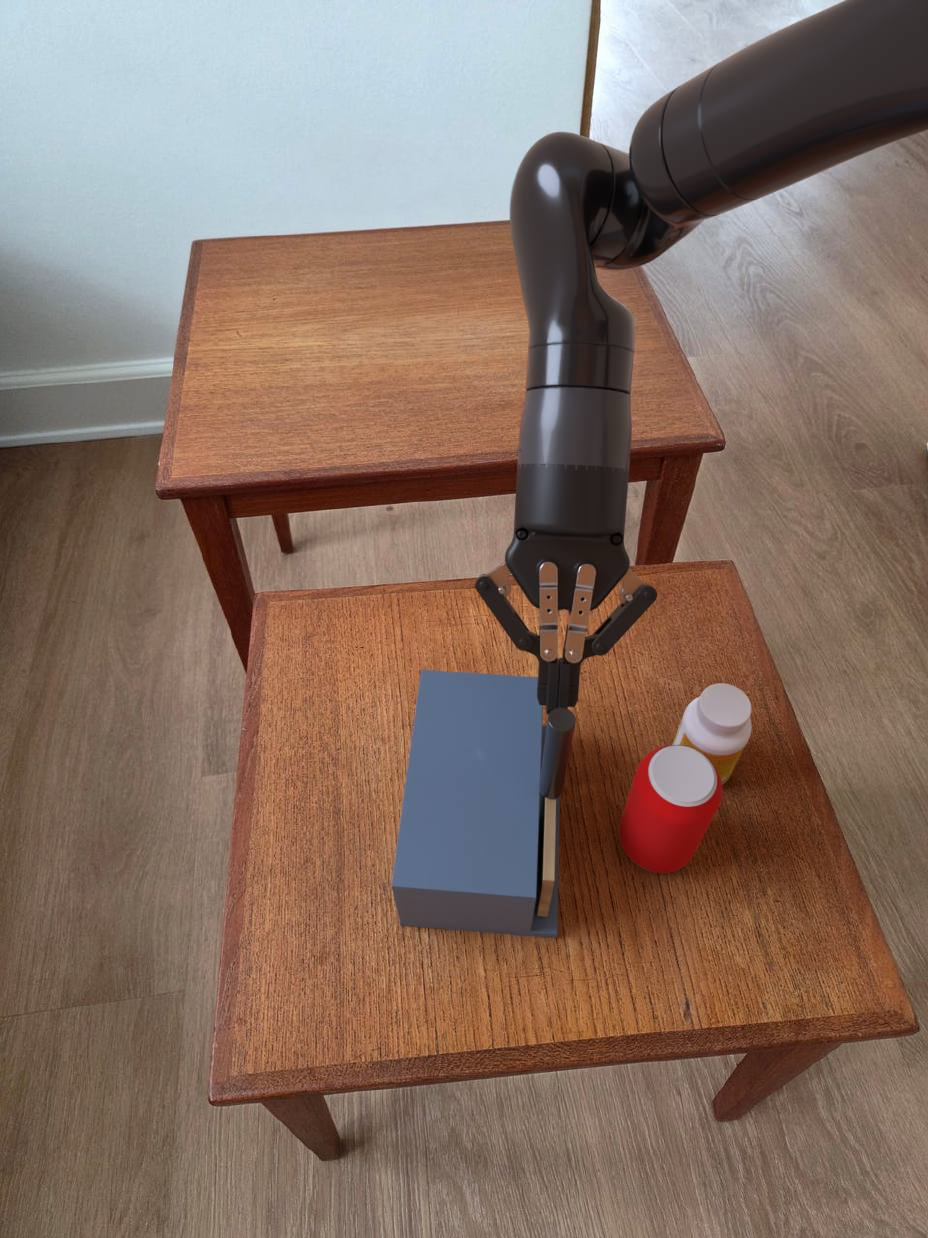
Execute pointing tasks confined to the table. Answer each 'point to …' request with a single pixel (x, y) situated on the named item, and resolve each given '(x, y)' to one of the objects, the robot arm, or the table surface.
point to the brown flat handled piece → (552, 797)
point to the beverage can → (669, 808)
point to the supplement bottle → (717, 726)
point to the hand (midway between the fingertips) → (556, 711)
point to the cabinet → (474, 808)
